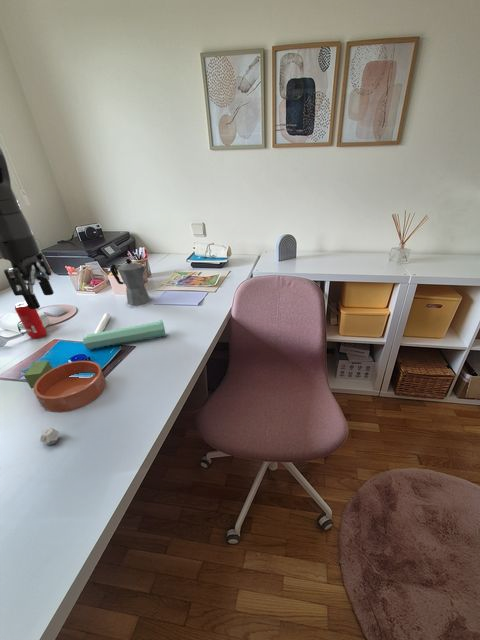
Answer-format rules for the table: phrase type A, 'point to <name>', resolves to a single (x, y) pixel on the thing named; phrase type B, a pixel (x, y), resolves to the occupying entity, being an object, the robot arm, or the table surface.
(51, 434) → the grey rock
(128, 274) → the coffeepot
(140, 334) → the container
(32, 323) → the beverage can
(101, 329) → the marker
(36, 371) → the sponge
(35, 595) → the table surface
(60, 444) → the table surface
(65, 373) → the basin
